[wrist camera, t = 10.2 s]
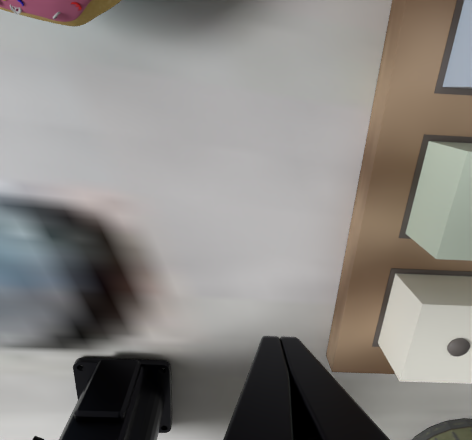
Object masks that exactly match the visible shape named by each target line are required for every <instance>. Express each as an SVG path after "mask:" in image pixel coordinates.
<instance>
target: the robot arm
mask: <svg viewBox="0 0 472 440" xmlns="http://www.w3.org/2000/svg"><path fill="white" fill-rule="evenodd" d="M81 365H82V366H81ZM161 368H165V369H161ZM73 370H74V377H75V383H76V390H77V396H78V402H77V404H76V406H75V408H74V410H73V412H72V414H71V416H70V418H69V420H68V422H67V424H66V426H65V428H64V430H63V432H62V434H61V437H60V439H59V440H157V437H158V433H166V432H169V431H170V430H171V425H172V408H171V366H170V364H169V362H167V361H163V360H134V359H103V358H79V359H77V360H76V362H75V364H74V365H73ZM33 440H44V439H42V438H40V437H37V436H35V437H34V438H33ZM223 440H390V439H389V438H388V437H387V436H386V435H385V434H384V433H383V432H382V430H381V429H380V428H379V427H378V426H377V425H376V424H375V423H374V422H373V421H372V419H371V418H370V417H369V416H368V415H367V414H366V413H365V412H364V411H363V410H362V408H361V407H360V406H359V405H358V404H357V403H356V402H355V401H354V400H353V399H352V397H351V396H350V395H349V394H348V393H347V392H346V391H345V390H344V389H343V388H342V386H341V385H340V384H339V383H338V382H337V381H336V380H335V379H334V378H333V377H332V375H331V374H330V373H329V372H328V371H327V370H326V369H325V368H324V367H323V366H322V364H321V363H320V362H319V361H318V360H317V359H316V358H315V357H314V356H313V354H312V353H311V352H310V351H309V350H308V349H307V348H306V347H305V346H304V345H303V343H302V342H301V341H300V340H299V339H298V338H296V337H281V338H280V339H279V337H277V336H263V337H262V339H261V342H260V344H259V347H258V350H257V352H256V355H255V357H254V360H253V363H252V365H251V368H250V371H249V373H248V376H247V379H246V381H245V384H244V387H243V389H242V392H241V394H240V397H239V400H238V402H237V405H236V408H235V410H234V413H233V416H232V418H231V421H230V424H229V426H228V429H227V432H226V434H225V437H224V439H223Z"/></svg>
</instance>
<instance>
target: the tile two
mask: <svg viewBox="0 0 472 440" xmlns="http://www.w3.org/2000/svg"><path fill="white" fill-rule="evenodd" d="M405 234H407V235H408V236H409V237H410V238H411V239H413V240H414V241H415V242H416V243H417V244H419V245H420V246H421V247H422V248H423V249H425V250H426V251H427V252H428V253H429V254H431V255H432V256H433V257H434V258H435V259H446V260H469V261H472V143H457V142H438V141H429V142H428V146H427V150H426V154H425V158H424V162H423V166H422V170H421V174H420V178H419V182H418V186H417V190H416V194H415V198H414V202H413V206H412V210H411V214H410V218H409V222H408V225H407V229H406V233H405Z"/></svg>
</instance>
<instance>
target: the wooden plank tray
mask: <svg viewBox="0 0 472 440" xmlns="http://www.w3.org/2000/svg"><path fill="white" fill-rule="evenodd" d="M463 4H464V0H392V6H391V11H390V16H389V22H388V27H387V32H386V38H385V43H384V48H383V54H382V59H381V64H380V70H379V75H378V81H377V86H376V91H375V97H374V102H373V107H372V113H371V118H370V123H369V129H368V134H367V139H366V145H365V150H364V155H363V161H362V166H361V171H360V177H359V182H358V187H357V193H356V198H355V203H354V209H353V214H352V220H351V225H350V230H349V236H348V241H347V246H346V252H345V257H344V262H343V268H342V273H341V278H340V284H339V289H338V294H337V300H336V305H335V310H334V316H333V321H332V326H331V332H330V337H329V342H328V348H327V353H326V356H327V359H328V362H329V365H330V367H331V370H332V372H351V373H382V374H395V372H394V370H393V369H392V367H391V365H390V363H389V362H388V360H387V358H386V356H385V355H384V353H383V351H382V349H381V348H380V346H379V344H378V340H379V336H380V332H381V329H382V325H383V321H384V317H385V313H386V309H387V305H388V301H389V297H390V293H391V289H392V285H393V281H394V277H395V273H398V274H422V275H447V276H472V261H469V260H446V259H435V258H434V257H433V256H432V255H431V254H429V253H428V252H427V251H426V250H425V249H423V248H422V247H421V246H420V245H419V244H417V243H416V242H415V241H414V240H413V239H411V238H410V237H409V236H408V235H407V234H405V233H406V229H407V225H408V222H409V218H410V214H411V210H412V206H413V202H414V198H415V194H416V190H417V186H418V182H419V178H420V174H421V170H422V166H423V162H424V158H425V154H426V150H427V146H428V142H429V141H438V142H457V143H472V89H469V88H452V87H443V83H444V79H445V75H446V71H447V67H448V63H449V59H450V55H451V51H452V47H453V43H454V39H455V35H456V31H457V27H458V23H459V19H460V15H461V11H462V7H463Z"/></svg>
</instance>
